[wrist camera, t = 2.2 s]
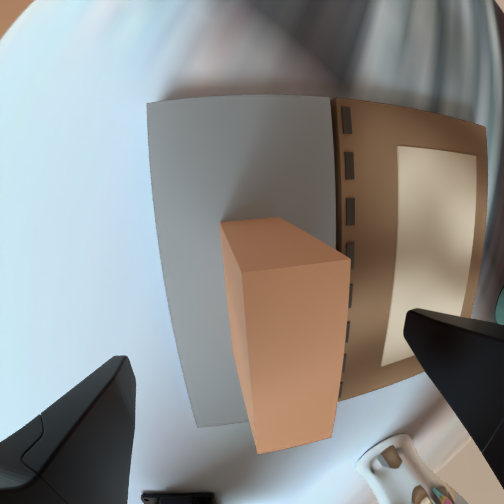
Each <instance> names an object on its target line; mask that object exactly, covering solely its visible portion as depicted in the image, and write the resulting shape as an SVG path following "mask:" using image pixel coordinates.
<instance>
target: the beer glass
mask: <svg viewBox="0 0 504 504" xmlns="http://www.w3.org/2000/svg"><path fill="white" fill-rule="evenodd" d="M355 471H356V473H357V474H358V476H359V477H360V478H361V479H362V480H363V481H364V482H365V483H366V484H367V486H368V487H369V488H370V489H371V491H372V492H373V494H374V496H375V498H376V500H377V503H378V504H468V503H467V502H466V500H465V499H464V498H463V497H462V496H461V495H460V494H459V493H458V492H456V490H454V489H453V488H452V487H451V486H449V485H448V484H447V483H446V482H445V481H444V480H442V479H441V478H440V477H439V476H437V475H436V474H435V473H434V472H433V471H432V470H431V469H430V468H428V466H427V465H426V464H425V463H424V462H423V460H422V459H421V457H420V456H419V454H418V452H417V450H416V448H415V446H414V443H413V441H412V439H411V438H410V436H409V435H407V434H398V435H395V436H392V437H390V438H387V439H385V440H383V441H382V442H380V443H378V444H377V445H375V446H374V447H372V448H371V449H370V450H368V451H367V452H366V453H365V454H364V455H363V456H362V457H361V458H360V459H359V461H358V462H357V464H356V466H355Z"/></svg>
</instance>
